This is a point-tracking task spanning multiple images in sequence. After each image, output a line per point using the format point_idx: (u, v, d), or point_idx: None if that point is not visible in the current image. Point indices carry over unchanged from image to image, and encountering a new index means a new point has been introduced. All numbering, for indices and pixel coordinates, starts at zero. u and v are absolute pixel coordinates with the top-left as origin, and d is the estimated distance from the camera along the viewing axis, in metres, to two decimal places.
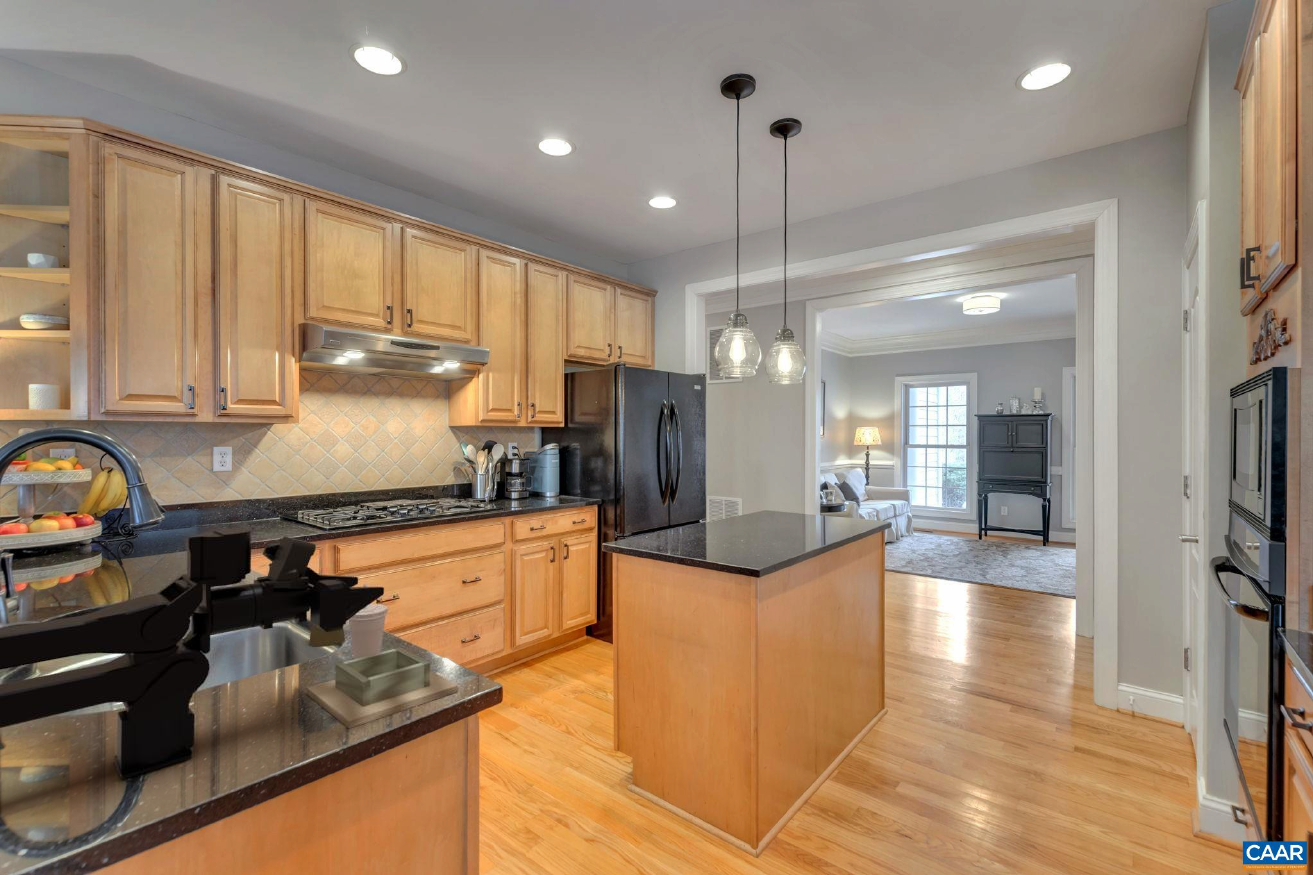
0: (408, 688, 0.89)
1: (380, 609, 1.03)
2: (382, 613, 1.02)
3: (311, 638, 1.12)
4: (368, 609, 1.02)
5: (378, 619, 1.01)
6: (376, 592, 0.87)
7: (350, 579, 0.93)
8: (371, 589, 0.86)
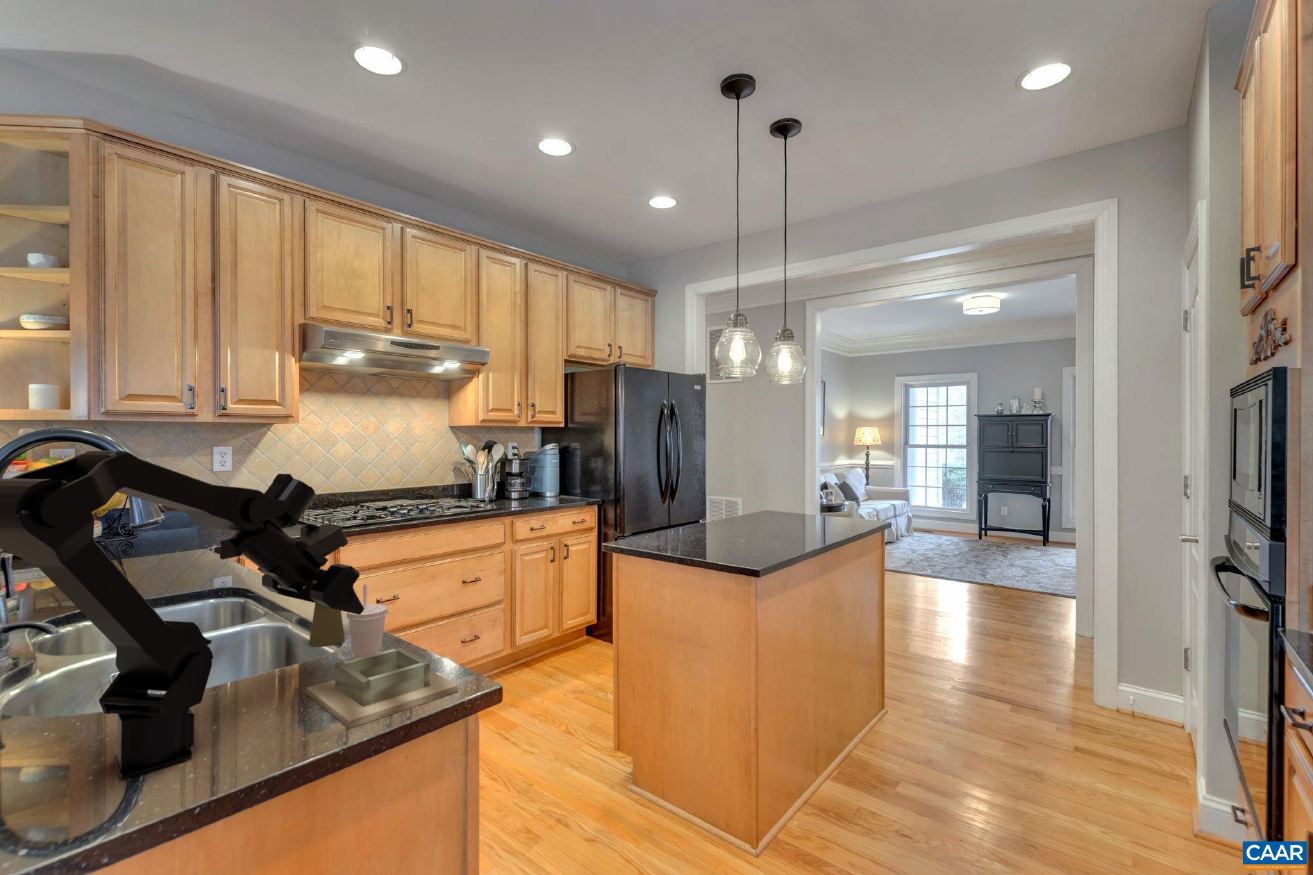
0: (408, 688, 0.89)
1: (380, 609, 1.03)
2: (382, 613, 1.02)
3: (311, 638, 1.12)
4: (368, 609, 1.02)
5: (378, 619, 1.01)
6: (358, 608, 0.96)
7: None
8: (358, 601, 0.96)
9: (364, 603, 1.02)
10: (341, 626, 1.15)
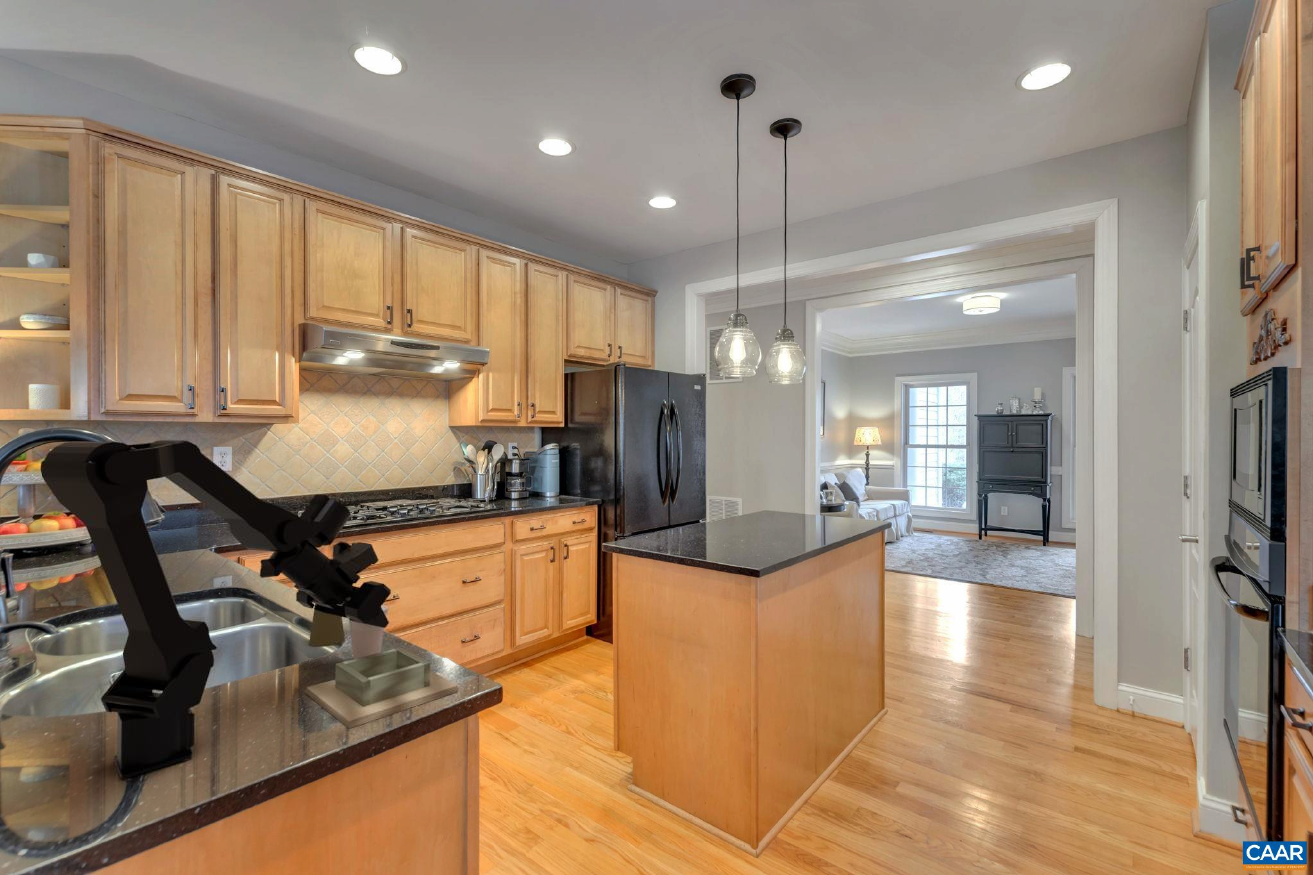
0: (408, 688, 0.89)
1: None
2: None
3: (311, 638, 1.12)
4: None
5: None
6: (383, 621, 1.01)
7: None
8: (384, 615, 1.01)
9: None
10: (341, 626, 1.15)
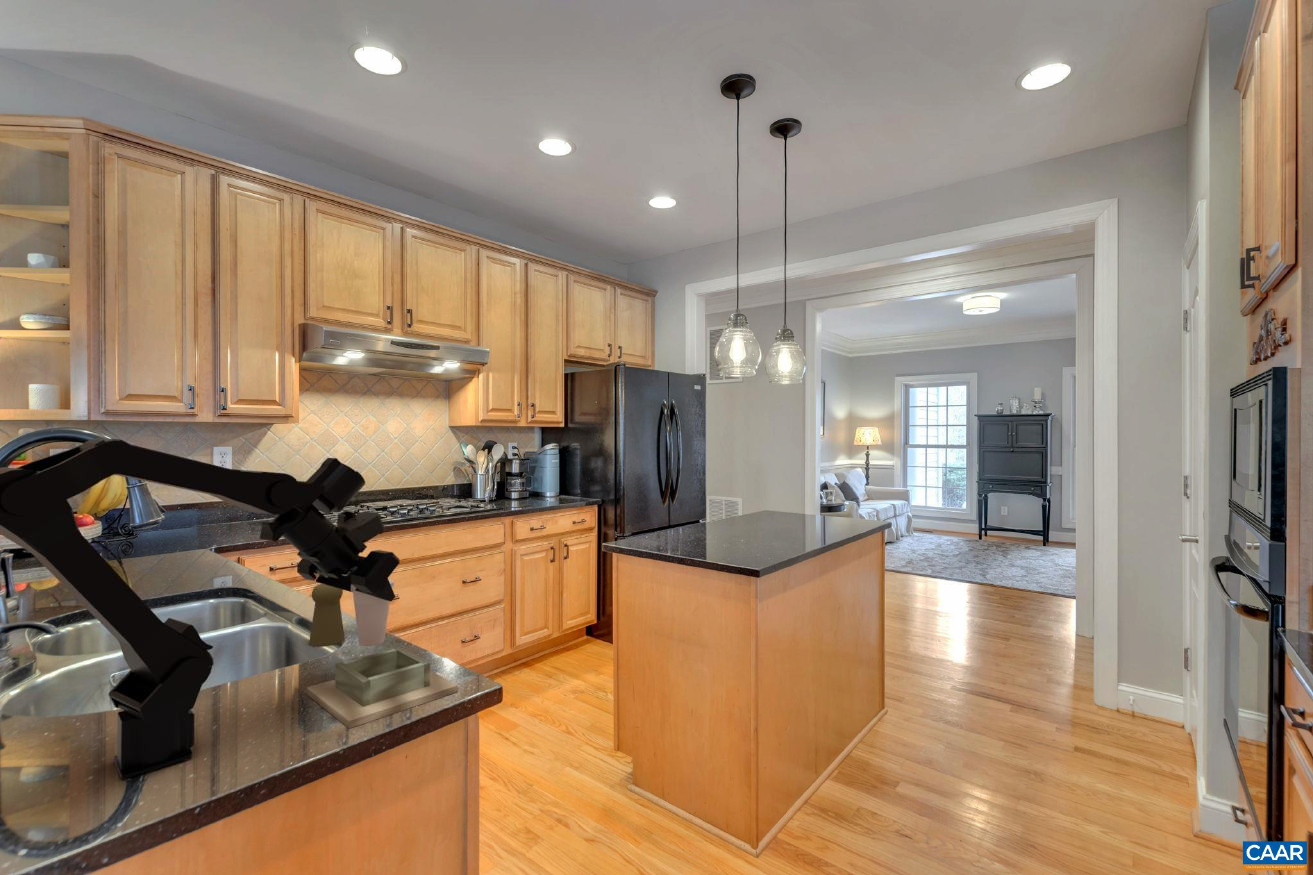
0: (408, 688, 0.89)
1: None
2: None
3: (311, 638, 1.12)
4: None
5: None
6: (390, 595, 0.96)
7: None
8: (390, 588, 0.96)
9: None
10: (341, 626, 1.15)
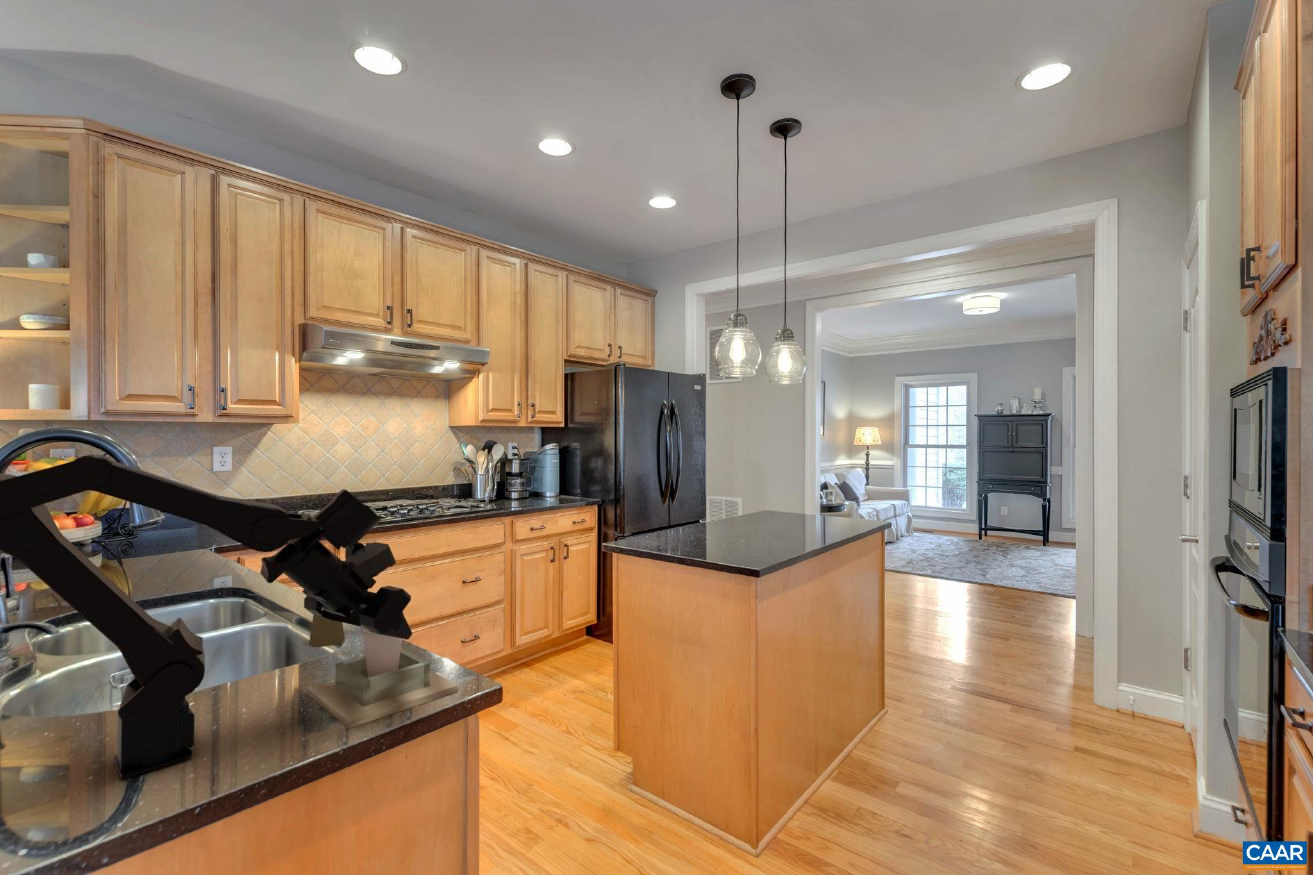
0: (408, 688, 0.89)
1: None
2: None
3: (311, 638, 1.12)
4: None
5: None
6: (406, 632, 0.90)
7: None
8: (407, 626, 0.89)
9: None
10: (341, 626, 1.15)
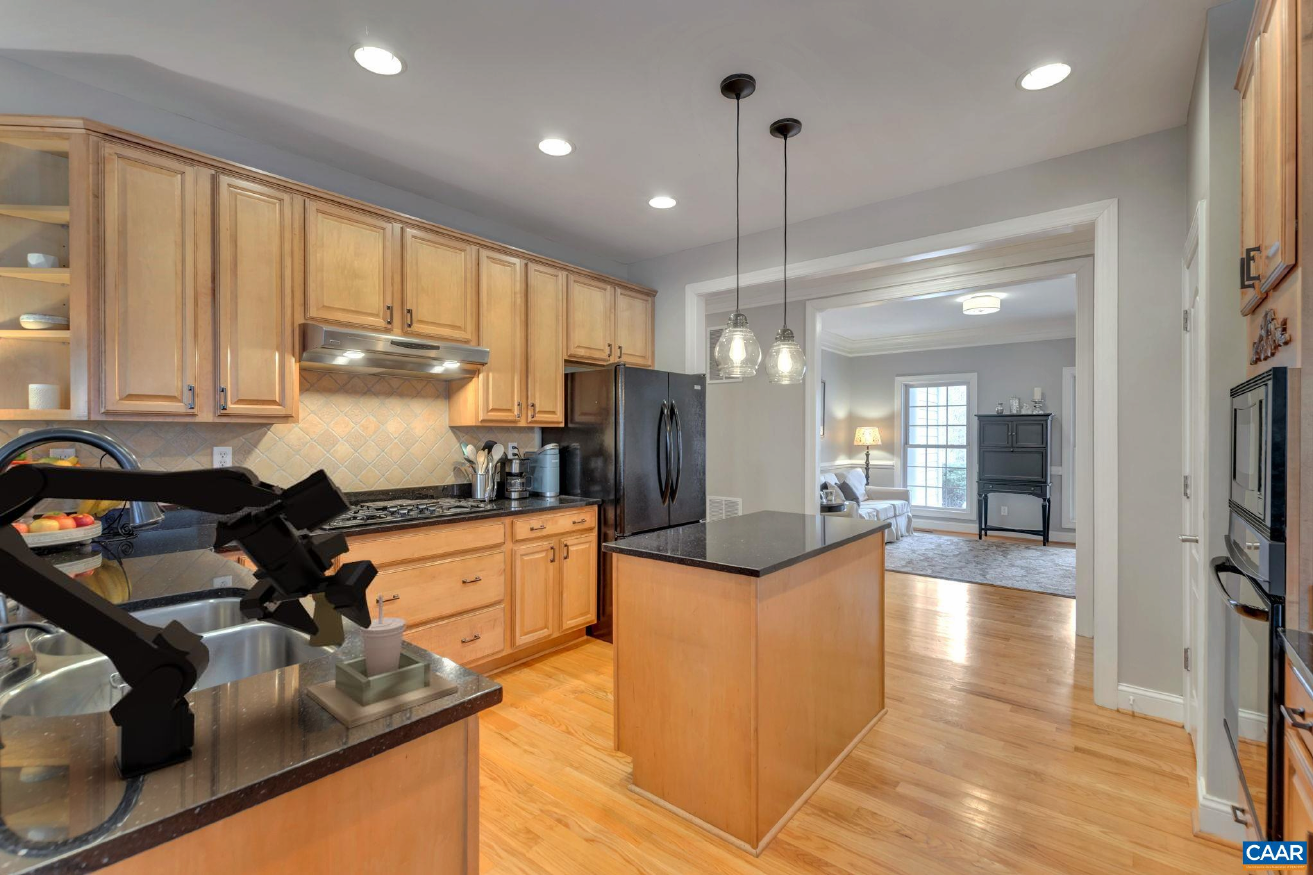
0: (408, 688, 0.89)
1: (397, 623, 0.91)
2: (400, 628, 0.91)
3: (311, 638, 1.12)
4: (384, 624, 0.91)
5: (395, 635, 0.90)
6: (366, 620, 0.84)
7: (314, 625, 0.87)
8: (368, 611, 0.84)
9: (380, 617, 0.91)
10: (341, 626, 1.15)
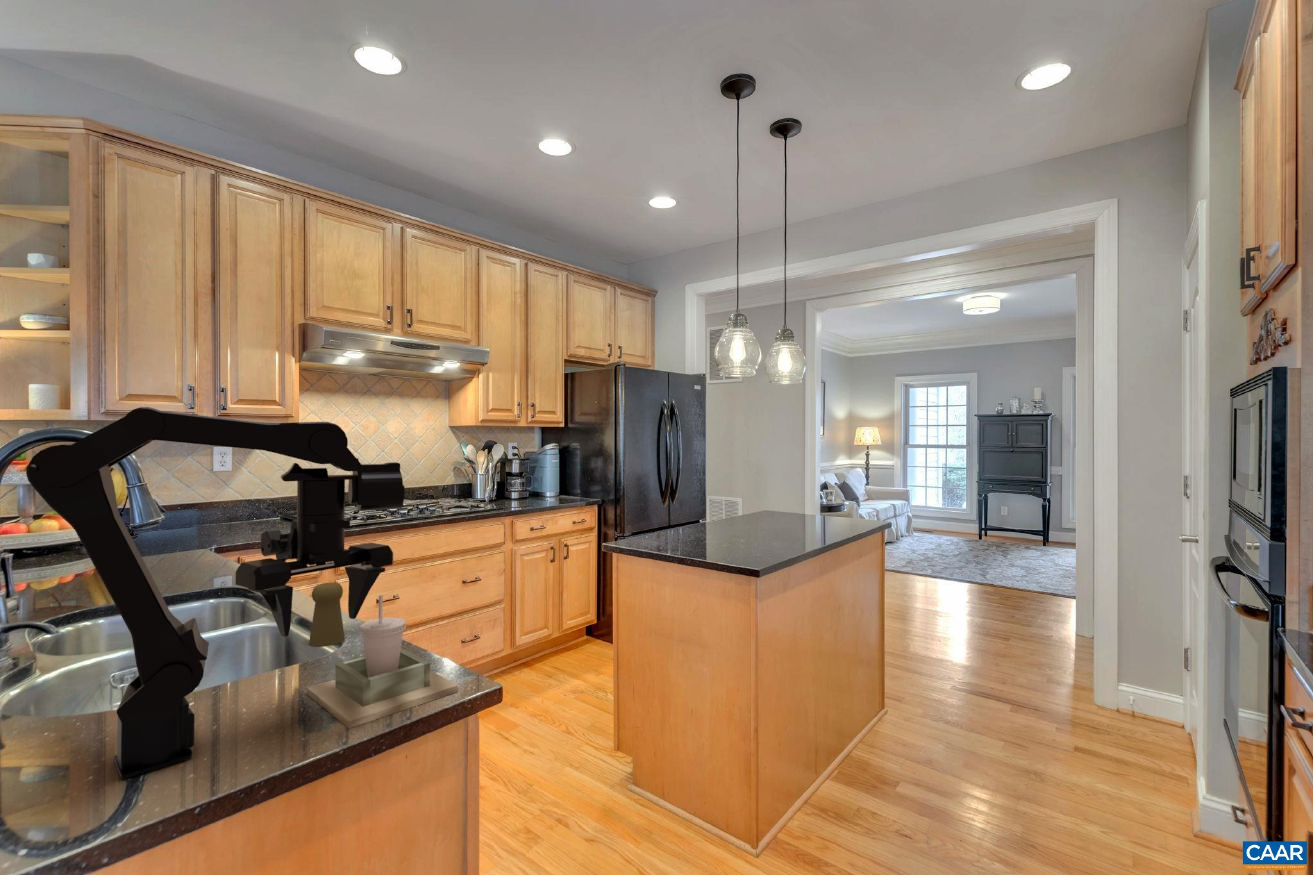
0: (408, 688, 0.89)
1: (397, 623, 0.91)
2: (400, 628, 0.91)
3: (311, 638, 1.12)
4: (384, 624, 0.91)
5: (395, 635, 0.90)
6: None
7: None
8: None
9: (380, 617, 0.91)
10: (341, 626, 1.15)
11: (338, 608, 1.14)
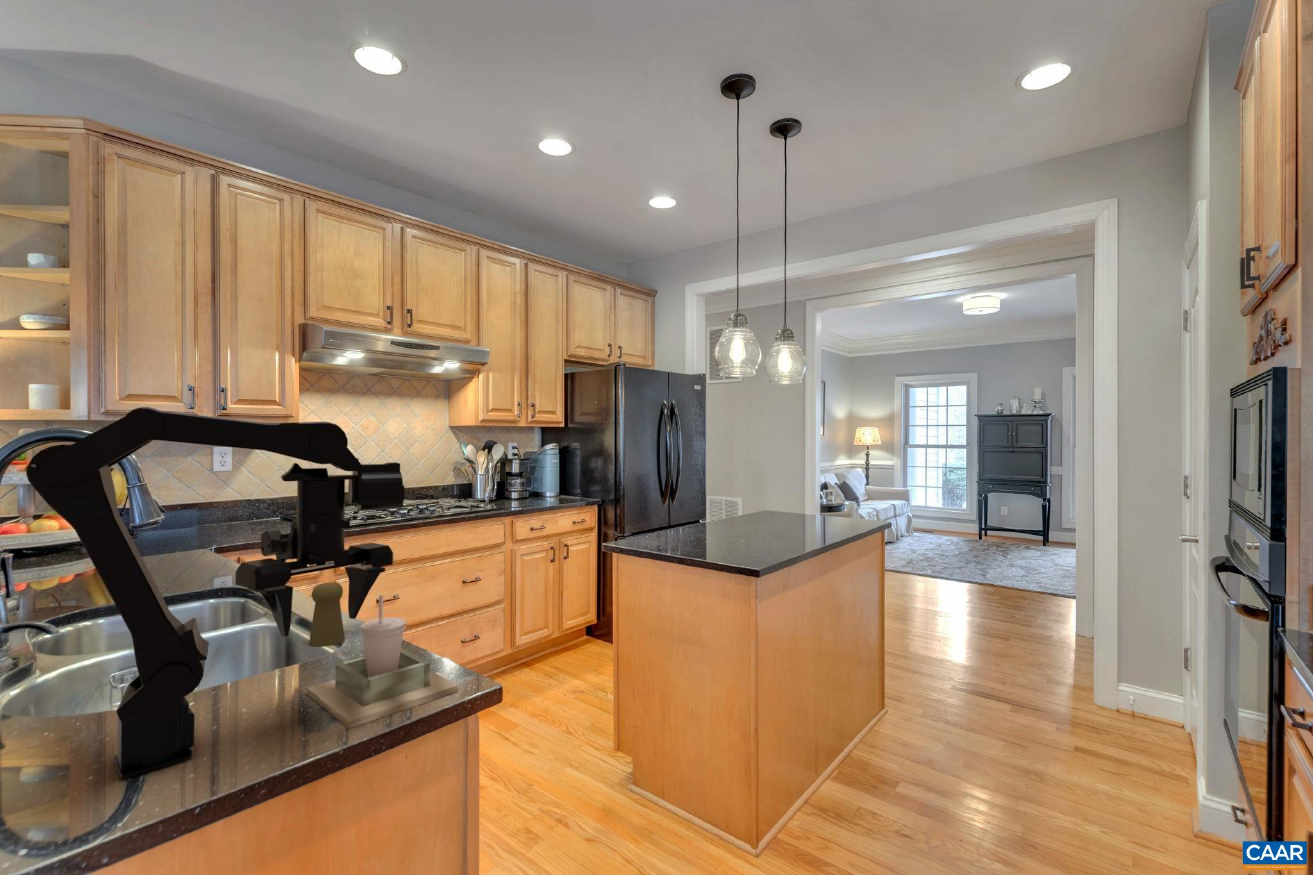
0: (408, 688, 0.89)
1: (398, 623, 0.91)
2: (400, 628, 0.91)
3: (311, 638, 1.12)
4: (384, 624, 0.91)
5: (396, 635, 0.90)
6: None
7: None
8: None
9: (380, 617, 0.91)
10: (341, 626, 1.15)
11: (338, 608, 1.14)
